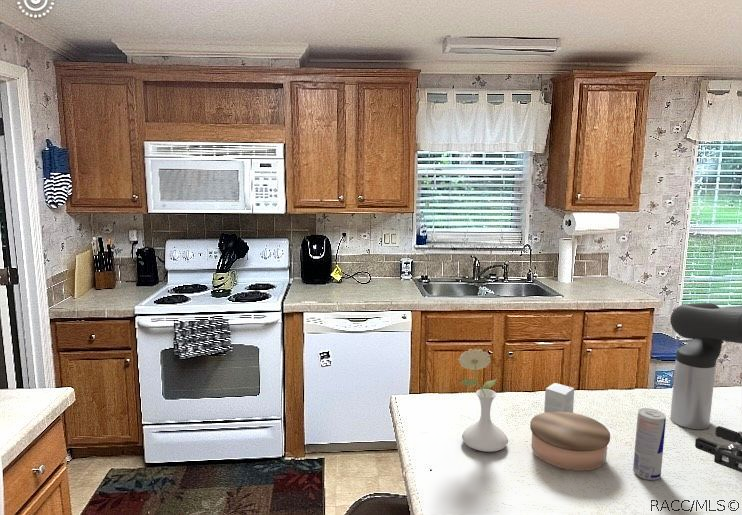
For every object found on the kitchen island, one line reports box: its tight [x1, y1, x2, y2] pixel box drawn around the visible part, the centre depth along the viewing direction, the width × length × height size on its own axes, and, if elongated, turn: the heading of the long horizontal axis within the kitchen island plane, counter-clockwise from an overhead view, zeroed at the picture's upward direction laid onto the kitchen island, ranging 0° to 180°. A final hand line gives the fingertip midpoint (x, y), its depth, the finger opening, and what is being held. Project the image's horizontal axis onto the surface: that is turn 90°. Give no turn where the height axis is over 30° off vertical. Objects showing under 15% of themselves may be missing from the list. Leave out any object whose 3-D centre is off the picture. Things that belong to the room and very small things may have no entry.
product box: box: [543, 382, 575, 413], centre depth 151 cm, size 6×6×7 cm
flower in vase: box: [457, 348, 509, 453], centre depth 133 cm, size 13×11×25 cm
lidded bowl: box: [529, 411, 611, 471], centre depth 128 cm, size 18×18×7 cm
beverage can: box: [632, 407, 667, 481], centre depth 119 cm, size 6×6×15 cm
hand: (706, 436), depth 109 cm, fingers open, 8 cm apart
